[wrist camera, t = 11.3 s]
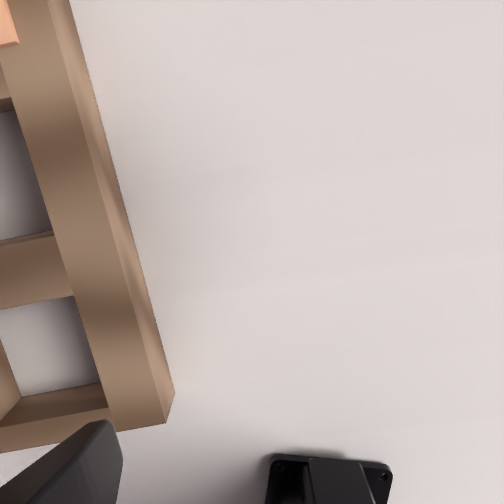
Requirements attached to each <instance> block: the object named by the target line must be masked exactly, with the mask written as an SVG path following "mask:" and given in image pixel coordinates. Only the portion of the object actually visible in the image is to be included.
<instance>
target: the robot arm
mask: <svg viewBox="0 0 504 504" xmlns="http://www.w3.org/2000/svg"><path fill="white" fill-rule="evenodd" d="M277 464H283V465H282V466H276V465H277ZM122 466H123V456H122V451H121V448H120V445H119V442H118V439H117V436H116V432H115V429H114V426H113V424H112V422H111V421H110V420H108V419H103V420H97V421H92V422H89V423H87V424H86V425H84V426H83V427H82V428H80V429H79V430H78V431H76V432H75V433H73V434H72V435H71V436H69V437H68V438H67V439H65V440H64V441H63V442H61V443H60V444H59V445H57V446H56V447H55V448H53V449H52V450H50V451H49V452H48V453H46V454H45V455H44V456H42V457H41V458H40V459H38V460H37V461H36V462H34V463H33V464H32V465H30V466H29V467H27V468H26V469H25V470H23V471H22V472H21V473H19V474H18V475H17V476H15V477H14V478H13V479H11V480H10V481H9V482H7V483H6V484H5V485H3V486H2V487H0V504H116V499H117V494H118V488H119V483H120V477H121V472H122ZM382 473H385V474H384V475H383V476H379V475H380V474H382ZM392 479H393V474H392V472H391V470H390V468H389V466H387V465H386V464H380V463H369V462H359V461H348V460H338V459H327V458H316V457H306V456H295V455H284V454H276V455H274V456H273V457H272V458H271V459H270V463H269V469H268V476H267V483H266V490H265V496H264V503H263V504H387V501H388V497H389V492H390V488H391V484H392Z"/></svg>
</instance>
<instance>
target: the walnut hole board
mask: <svg viewBox="0 0 504 504" xmlns="http://www.w3.org/2000/svg"><path fill="white" fill-rule="evenodd" d="M10 110H15V111H16V114H17V117H18V120H19V123H20V127H21V130H22V133H23V136H24V139H25V142H26V146H27V149H28V152H29V155H30V158H31V161H32V165H33V168H34V171H35V174H36V177H37V181H38V184H39V187H40V190H41V193H42V196H43V200H44V203H45V206H46V209H47V212H48V215H49V219H50V222H51V225H52V228H53V230H50V231H45V232H40V233H35V234H30V235H25V236H20V237H15V238H11V239H6V240H1V241H0V310H1V309H6V308H12V307H17V306H22V305H27V304H32V303H37V302H42V301H47V300H52V299H58V298H63V297H68V296H73V295H74V298H75V301H76V304H77V307H78V311H79V314H80V317H81V320H82V323H83V326H84V330H85V333H86V336H87V339H88V342H89V345H90V349H91V352H92V355H93V358H94V361H95V365H96V368H97V371H98V374H99V377H100V380H101V383H96V384H91V385H86V386H80V387H75V388H70V389H64V390H59V391H54V392H48V393H43V394H38V395H32V396H27V397H21V394H20V392H19V389H18V386H17V383H16V381H15V378H14V375H13V373H12V370H11V367H10V364H9V362H8V359H7V356H6V354H5V351H4V348H3V345H2V343H1V340H0V454H1V453H6V452H11V451H17V450H22V449H28V448H33V447H39V446H44V445H50V444H55V443H61V442H63V441H64V440H65V439H67V438H68V437H69V436H71V435H72V434H73V433H75V432H76V431H78V430H79V429H80V428H82V427H83V426H84V425H86V424H87V423H89V422H92V421H97V420H103V419H108V420H110V421H111V422H112V424H113V426H114V429H115V432H121V431H126V430H132V429H137V428H143V427H148V426H153V425H159V424H164V423H166V422H167V418H168V415H169V412H170V408H171V405H172V401H173V398H174V395H175V390H174V387H173V383H172V379H171V375H170V372H169V368H168V364H167V361H166V357H165V353H164V350H163V346H162V342H161V339H160V335H159V331H158V328H157V324H156V320H155V316H154V313H153V309H152V305H151V302H150V298H149V294H148V291H147V287H146V283H145V280H144V276H143V272H142V268H141V265H140V261H139V257H138V254H137V250H136V246H135V243H134V239H133V235H132V232H131V228H130V224H129V221H128V217H127V213H126V209H125V206H124V202H123V198H122V195H121V191H120V187H119V184H118V180H117V176H116V173H115V169H114V165H113V161H112V158H111V154H110V150H109V147H108V143H107V139H106V136H105V132H104V128H103V125H102V121H101V117H100V114H99V110H98V106H97V102H96V99H95V95H94V91H93V88H92V84H91V80H90V77H89V73H88V69H87V66H86V62H85V58H84V54H83V51H82V47H81V43H80V40H79V36H78V32H77V29H76V25H75V21H74V18H73V14H72V10H71V7H70V3H69V0H0V113H1V112H5V111H10Z"/></svg>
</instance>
